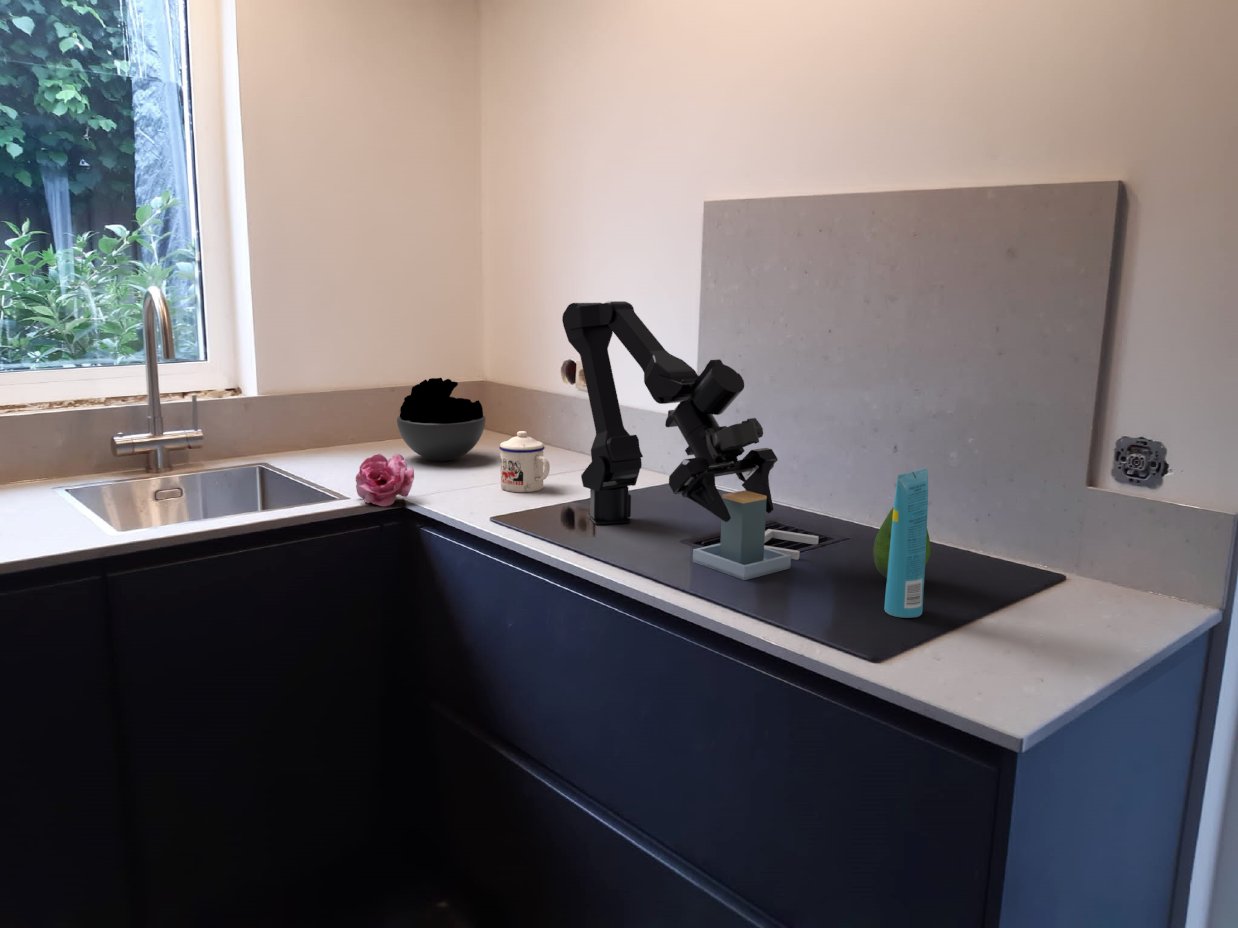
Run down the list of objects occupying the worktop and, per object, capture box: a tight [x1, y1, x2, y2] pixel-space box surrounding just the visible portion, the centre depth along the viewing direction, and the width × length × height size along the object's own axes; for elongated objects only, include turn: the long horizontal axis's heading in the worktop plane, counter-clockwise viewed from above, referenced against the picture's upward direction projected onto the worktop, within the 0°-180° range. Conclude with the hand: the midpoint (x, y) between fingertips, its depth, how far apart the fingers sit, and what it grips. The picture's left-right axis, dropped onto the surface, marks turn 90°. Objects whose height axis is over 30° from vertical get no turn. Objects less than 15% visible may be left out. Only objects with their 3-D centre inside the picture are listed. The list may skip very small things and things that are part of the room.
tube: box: [883, 467, 929, 619], centre depth 125 cm, size 7×5×19 cm, turn 140°
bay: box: [764, 528, 819, 561], centre depth 156 cm, size 9×11×1 cm
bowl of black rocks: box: [396, 377, 486, 462], centre depth 220 cm, size 20×20×19 cm
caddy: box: [719, 489, 767, 565], centre depth 145 cm, size 4×5×10 cm
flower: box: [355, 453, 415, 507], centre depth 182 cm, size 11×10×10 cm
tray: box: [692, 542, 792, 581], centre depth 146 cm, size 11×10×2 cm
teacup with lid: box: [499, 430, 551, 493], centre depth 193 cm, size 12×9×12 cm
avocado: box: [872, 506, 931, 579], centre depth 139 cm, size 8×8×12 cm
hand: (750, 515), depth 144 cm, fingers open, 9 cm apart
